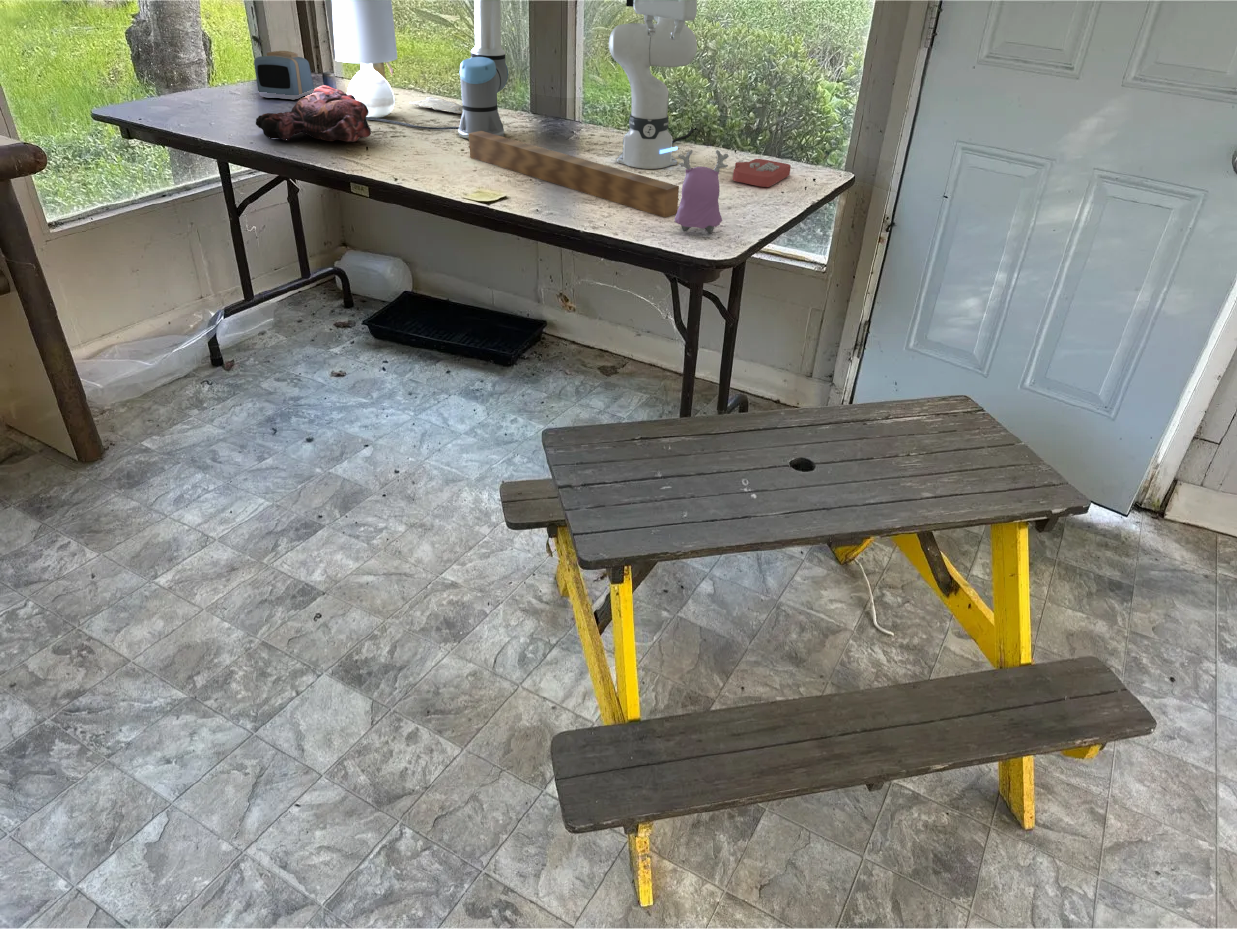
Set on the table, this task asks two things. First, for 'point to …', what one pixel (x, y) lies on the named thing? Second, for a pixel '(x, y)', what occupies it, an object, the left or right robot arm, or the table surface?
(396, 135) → the table surface
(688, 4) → the right robot arm
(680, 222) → the toy character
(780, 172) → the plaque
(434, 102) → the stone tool
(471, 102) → the left robot arm
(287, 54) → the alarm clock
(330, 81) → the beverage can
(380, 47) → the lamp
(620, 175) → the post
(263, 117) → the raw meat chunk
